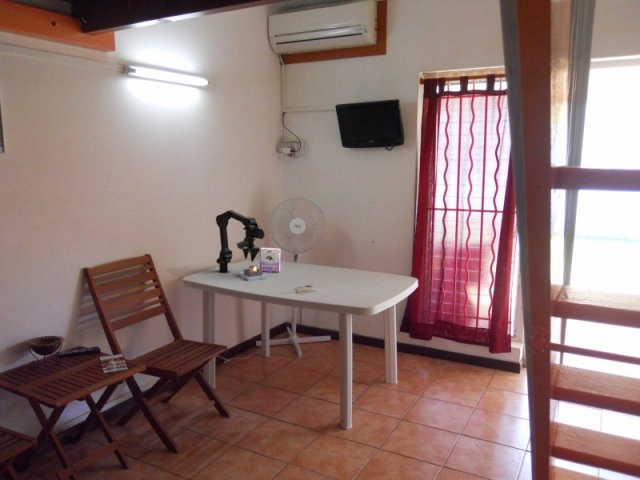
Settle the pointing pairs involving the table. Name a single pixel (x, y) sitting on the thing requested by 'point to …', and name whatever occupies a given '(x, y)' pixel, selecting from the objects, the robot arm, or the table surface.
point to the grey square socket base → (251, 275)
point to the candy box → (270, 259)
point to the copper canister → (252, 268)
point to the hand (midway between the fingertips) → (248, 260)
